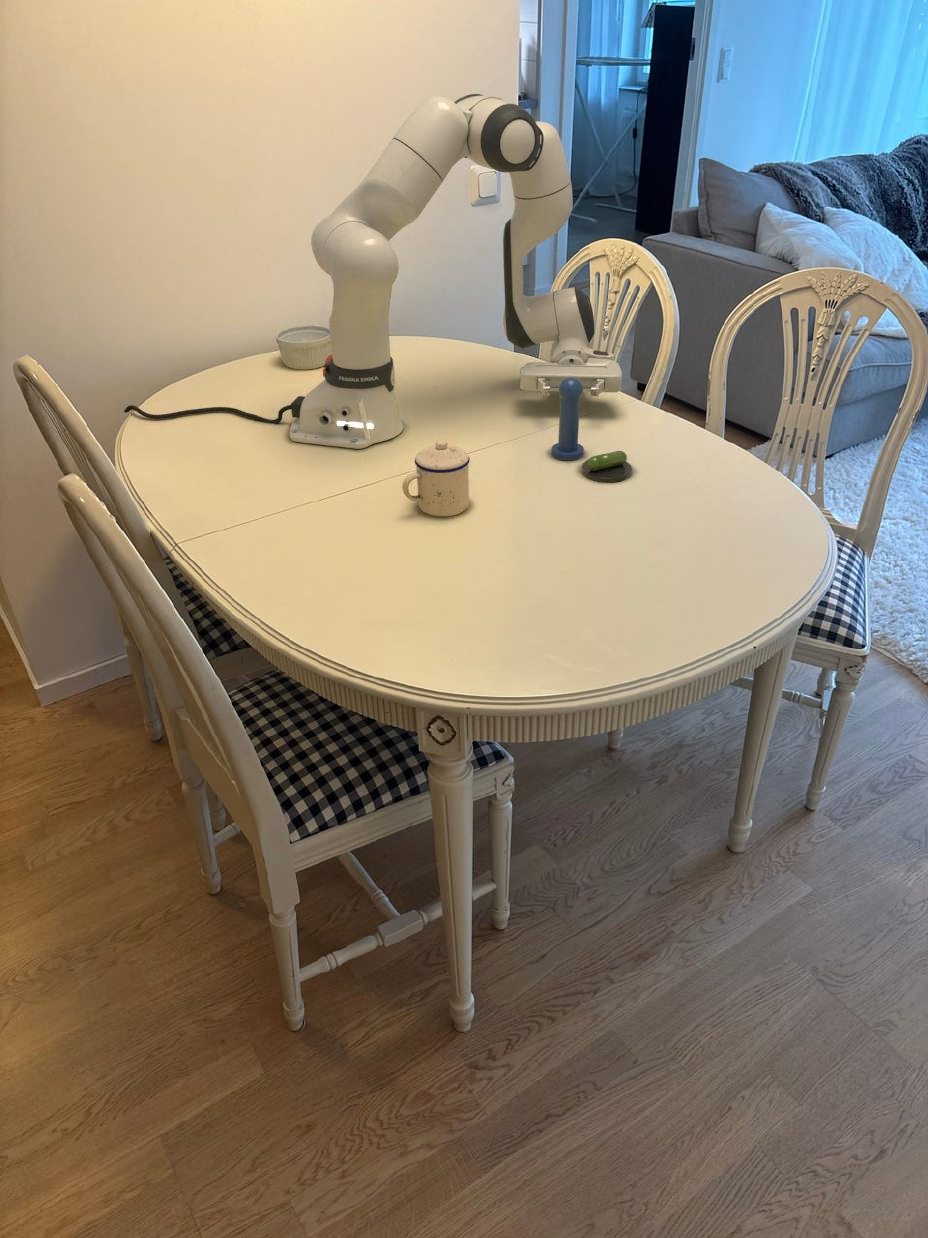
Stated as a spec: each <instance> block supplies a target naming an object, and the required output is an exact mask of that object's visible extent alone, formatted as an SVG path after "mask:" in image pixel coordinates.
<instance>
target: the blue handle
mask: <svg viewBox="0 0 928 1238" xmlns="http://www.w3.org/2000/svg"><path fill="white" fill-rule="evenodd" d="M557 392H558V395H559V418H558V440H557V441H558V442H556V443H555V444H553V445H552V447H551V456H552V457H553V458H555V459H557V460H560V461H566V462H567V461H568V462H570V461H577V460H579V459H581V458H583V457H584V453H585V448H584V446H583V445H582V444H580V443H579V427H580V409H581V397H582V396H583V393H584V392H583V386H582V384H581V382H580V381H579V380H578V379H576V378H573V377H569V378H566V379H564V380H563V381H562V382H561V383H560V385H559V389H558V391H557Z"/></svg>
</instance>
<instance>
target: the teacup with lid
mask: <svg viewBox="0 0 928 1238" xmlns="http://www.w3.org/2000/svg"><path fill="white" fill-rule="evenodd" d="M470 460H471V459H470V456H469V453H468V452H467V451H466V450H465V449H464V448H462V447H459V446H456V445H452V444H449V443H448V441H447V440H445V439H438V440H436V441H435V444H434V445H431V446H427V447H424V448H422V449H421V450H419V451H418V452H417V453H416V455H415V458H414V464H415V466H416V472H412V473H410V474H407V476H406V477H405V478H404V480H403V482H402V492H403V494H404V496H405V497H406V498H407V499H408V500H410V501H411V502H417V505H418V507H419V509H420V511H422V512H423V513H425V514H427V515H430V516H432V517H433V516H434V517H451V516H456V515H459V514H461V513H464V511H466V510H467V509H468V507H469V505H470V485H469V484H470V481H469V480H470V479H469V463H470ZM413 480H416V484H417V495H411V493H410V490H409V485H410V484H411V482H412V481H413Z"/></svg>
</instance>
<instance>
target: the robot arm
mask: <svg viewBox="0 0 928 1238" xmlns="http://www.w3.org/2000/svg"><path fill="white" fill-rule="evenodd" d="M464 158H465V159H468V160H470V161H472V162H473V163H474V164H476V165H478V166H480V167H483V168H486V169H491V170H494V171H496V172H500V173H508V174H509V177H510V180H511V181H510V182H511V187H512V188H511V189H512V193H513V194H512V195H513V199H514V204H513V205H514V207H513V212H512V216H511V218H509V219H508V220H507V221H506V222H505V224H504V228H503V234H502V235H503V236H502V252H503V253H502V254H503V256H502V258H503V284H504V285H503V286H504V288H503V289H504V310H503V317H502V318H503V321H502V322H503V323H502V324H503V330H504V331H503V332H504V334H505V337H506V339H507V341H508V342H510V344H512V345H514V346H515V347H517V348H520V349H526V348H530V347H533V346H537V345H539V344H544V343H548V342H552V344H551V349H550V359H549V362H547V361H546V362H545V361H543V362H542V361H539V362H538V361H532V362H527V363H526V364H524V365H523V366H521V367H520V369H519V374H520V376H519V388H520V389H521V390H523V391H526V392H527V391H528V392H539V393H541V395H542V396H550V395H551V392H558V389H559V385H560V383H561V382H562V381H563V380H564V379H566V378H569V377H573V378H576V379H578V380H579V381H580V382H581V384H582V386H583V393H590V397H599V394H602V393H619V392H621V391H622V385H623V371H622V368H621V366H620V364H619V363H618V362H617V361H615V354H613V352H607V351H602V350H597V349H593V348H592V343H591V341H592V339H593V337H594V335H595V318H594V311H593V307H592V303H591V300H590V298H589V296H588V295H587V294H586V293H585V292H584V291H583V290H581V289H580V288H578V287H577V286H574V287H569V288H564V289H563V288H562V289H557V290H554V291H551V292H546V293H541V294H536V295H530V296H529V295H526V294H525V293H524V261H525V259H526V257H527V256H528V254H529V253H530V252H531V251H532V250H533V249H535V248H537V246H539V245H540V244H542V243H543V242H545V241H546V240H549V239H550V238H552V237H553V236H555V235H556V234H557V233H558V232H560V230H562V228H563V227H564V226H565V224H566V223H567V222H568V220H569V219H570V217H571V215H572V211H573V208H574V206H573V205H574V199H573V198H574V197H573V185H572V180H571V179H572V178H571V173H570V169H569V164H568V159H567V156H566V152H565V149H564V145H563V142H562V140H561V137H560V135H559V132H558V130H557V129H556V128H555V126H554V125H553V124H550V123H549V122H546V121H540V120H539V121H535V119H534V117H533V116H532V115H531V114H530V113H529V112H528V110H526V109H525V108H523V107H522V106H520V105H518V104H515V103H510V102H508V101H506V100H504V99H503V98H501V97H497V96H492V95H483V94H481V93H471V94H466V95H464V96H462V97H459V98H458V99H456V100H455V101H453V100H451V99H450V98H448V97H445V96H442V95H432V96H429V97H427V98H426V99H425V100H423V102H421V103H420V104H419V105H418V107H417V108H415V109H414V110H413V112H412V113H411V114H410V115H409V117H407V119H406V120H405V121H404V122H403V123H402V125H401V126H399V129H397V131H396V132H395V134H394V136H393V137H392V138H391V140H390V141H389V143H388V144H387V146H386V147H385V149H384V150H383V151H382V153H381V154H380V156H379V157H378V158H377V159H376V162H375V163H374V165H373V166H372V167H371V169H370V171H369V172H368V173H367V175H366V176H365V177H364V178H363V179H362V181H361V182H360V183H359V184H357V186H356V187H355V188H354V189H353V190H352V191H350V193H349V194H348V195H347V196H346V197H345V198H344V199H343V200H342V201H341V202H340V203H339V205H338V206H336V207H335V208H334V210H333V211H332V212H331V213H330V214H328V215H327V216H326V217H324V218H322V219H321V220H320V221H319V222H318V223H317V224H316V225H315V227H314V229H313V231H312V234H311V237H310V246H311V250H312V253H313V256H314V259H315V261H316V263H317V265H318V266H319V267H320V269H321V270H322V271H323V272H325V273H326V274H327V275H328V276H329V277H330V279H331V281H332V286H333V287H332V288H333V297H332V298H333V299H332V307H331V308H332V309H331V314H330V315H329V316H330V317H329V321H328V326H329V327H328V328H330V337H331V347H332V355H329V356H328V357H327V359H326V360H325V364H324V366H322V377H323V378H324V379H323V381H321V382H320V383H319V384H317V385H316V386H315V387H314V388H313V389H312V390H310V391H309V392H308V393H307V394H306V396H305V395H304V396H303V395H302V396H301V395H298V396H297V397H296V398H295V399H294V400H293V401H292V402H291V403H290V404H288V405H285V406H283V407H281V408H280V409H279V410H278V412H277V418H274V419H268V418H265V417H262V416H260V415H257V414H254V413H249V412H247V411H243V410H241V409H238V408H235V407H228V406H211V407H203V408H201V407H200V408H192V409H185V410H178V411H175V412H169V413H161V414H152V413H148V412H146V411H143V410H142V409H141V408H139V407H138V406H136V405H133V404H132V405H131V404H130V405H128V406H126V407H125V409H124V410H123V413H126V414H127V413H129V412H131V411H135V412H136V413H138V414H139V415H141V416H142V417H144V418H147V419H149V420H165V419H172V418H177V417H181V416H188V415H194V414H195V415H197V414H204V413H212V412H227V413H234V414H237V415H240V416H242V417H245V418H249V419H252V420H256V421H258V422H260V423H266V424H272V425H276V424H279V423H280V422H282V420H283V414H284V413H285V412H287V411H291V417H292V418H294V420H293V422H292V423H291V425H290V427H289V438H290V440H291V441H292V442H295V443H303V444H304V443H305V444H312V445H322V446H331V447H340V448H346V449H356V450H358V449H359V450H360V449H364V448H367V447H369V446H371V445H374V444H378V443H382V442H385V441H388V440H391V439H394V438H395V437H397V436H399V435H400V434H401V433H402V432H403V430H404V424H403V421H402V419H401V416H400V412H399V409H398V404H397V400H396V395H395V386H396V377H395V376H396V375H395V374H396V373H395V365H394V359H393V357H392V356H391V344H390V341H391V340H390V327H389V319H390V318H389V316H390V315H389V314H390V306H391V298H392V289H393V285H394V284H395V282H396V279H397V277H398V274H399V268H400V266H399V258H398V255H397V253H396V251H395V249H394V248H393V246H392V244H391V243H390V240H392V238H394V237H395V236H396V235H397V234H398V233H399V232H400V231H401V230H402V229H404V228H405V227H406V226H409V224H412V223H414V222H415V221H416V220H417V219H418V218H419V217H420V216H421V214H422V213H423V211H424V209H425V208H426V207H427V205H429V202H430V201H431V199H432V198H433V197H434V195H435V194H436V192H437V191H438V189H439V188H440V186H441V185H442V184H443V182H444V181H445V179H446V178H447V177H448V175H449V173H450V171H451V170H452V168H453V167H454V166H455V165H456V164H457V163H458V162H459V161H461V160H462V159H464Z"/></svg>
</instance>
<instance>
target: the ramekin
mask: <svg viewBox="0 0 928 1238" xmlns="http://www.w3.org/2000/svg"><path fill="white" fill-rule="evenodd" d="M275 340H276V343H277V345H278V349H279V353H280V357H281V360H282V362H283V364H284V365H285V366H286V367H288V368H289V369H293V370H300V371H301V370H304V371H305V370H315V369H318V368H321V367H322V368H323V366H324V364H325V360H326V359H327V357H328V356H329V355H332V347H331V337H330V328H329V327H327V326H325V325H319V324H303V325H295V326H290V327H287V328H284V329H282V330H279V331H278V332H277V333H276V334H275Z"/></svg>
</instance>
